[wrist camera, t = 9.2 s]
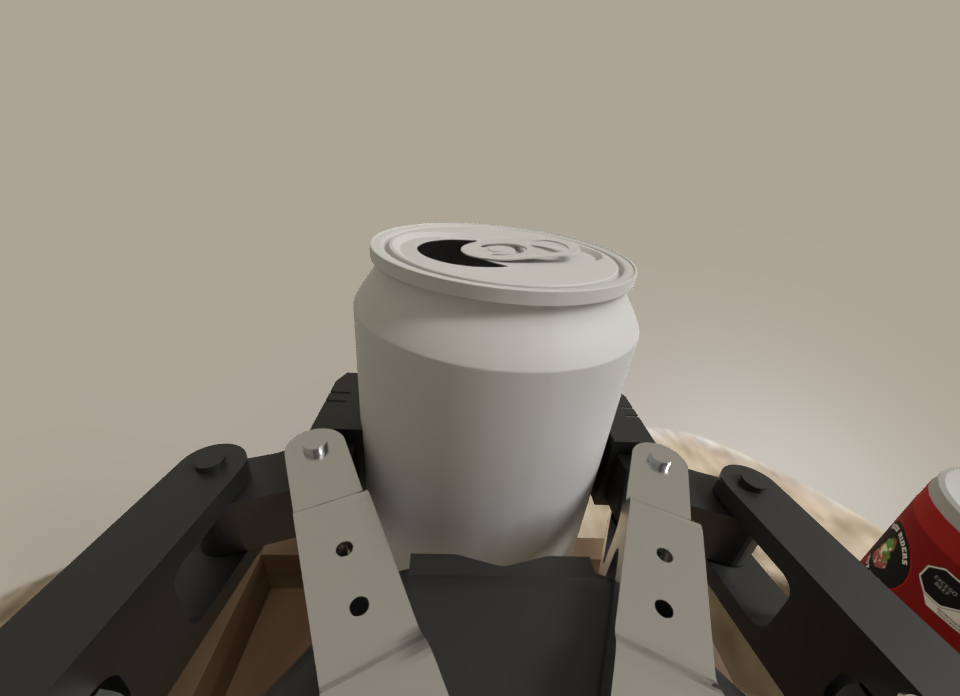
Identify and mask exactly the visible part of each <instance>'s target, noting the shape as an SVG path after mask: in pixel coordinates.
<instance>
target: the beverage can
mask: <svg viewBox="0 0 960 696" xmlns="http://www.w3.org/2000/svg"><path fill="white" fill-rule="evenodd" d="M370 257H371V260H372V262H373V263H374V265H375V266H374V268H373V269H372V271H371V272H370V274H369V275H368V276H367V278H366V279H365V281H364V282H363V283H362V285H361V287H360V288H359V290H358V292H357V293H356V295H355V299H354V322H355V338H356V355H357V371H358V387H359V403H360V418H361V425H362V429H363V443H364V460H365V477H366V489H367V490H368V491H369V493H370V496H371V498H372V501H373V504H374V507H375V509H376V512H377V515H378V518H379V520H380V523H381V526H382V528H383V531H384V534H385V537H386V539H387V542H388V545H389V548H390V550H391V553H392V556H393V558H394V561H395V564H396V567H397V569H398V571H401V570H405V569H409V564H410V556H411V553H418V554H457V555H461V556H465V557H468V558H472V559H476V560H479V561H483V562H487V563H490V564H494V565H498V566H509V565H513V564H517V563H521V562H525V561H529V560H533V559H537V558H541V557H545V556H571V555H572V552H573V549H574V546H575V542H576V539H577V536H578V533H579V529H580V526H581V523H582V520H583V517H584V513H585V510H586V507H587V504H588V500H589V497H590V494H591V491H592V487H593V484H594V481H595V478H596V474H597V471H598V468H599V465H600V462H601V458H602V455H603V452H604V449H605V445H606V442H607V439H608V436H609V432H610V429H611V426H612V423H613V420H614V416H615V413H616V410H617V407H618V403H619V400H620V397H621V394H622V390H623V387H624V384H625V381H626V377H627V374H628V371H629V368H630V364H631V361H632V358H633V355H634V352H635V348H636V345H637V342H638V338H639V326H638V322H637V319H636V316H635V313H634V311H633V308H632V306H631V304H630V301H629V299H628V296H627V293H628V292H629V291H630V290H631V289H632V288H633V286H634V283H635V279H636V276H637V268H636V266H635V265H634V264H633V263H632V262H631V261H630V260H629V259H627V258H626V257H624V256H623V255H621V254H619V253H616V252H615V251H613V250H610V249H608V248H605V247H602V246H599V245H597V244H593V243H590V242H587V241H583V240H580V239H576V238H572V237H567V236H563V235H558V234H554V233H548V232H543V231H537V230H531V229H524V228H516V227H508V226H499V225H486V224H471V223H430V224H416V225H407V226H401V227H396V228H392V229H389V230H386V231H383V232H380V233H378V234H376V235H375V236H374V237H373V238H372V239H371V240H370Z"/></svg>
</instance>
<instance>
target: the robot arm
mask: <svg viewBox="0 0 960 696" xmlns="http://www.w3.org/2000/svg"><path fill="white" fill-rule="evenodd" d="M637 416H638V415H637V414H636V412H635V411H634V409H632V406H631V405H630V403H629V402H628V400H627V399H626V397H625V396H624V395H622V394H621V397H620V400H619V403H618V407H617V410H616V413H615V416H614V420H613V423H612V426H611V429H610V432H609V436H608V439H607V442H606V445H605V449H604V452H603V455H602V458H601V462H600V465H599V468H598V471H597V474H596V478H595V481H594V484H593V487H592V491H591V496H592V499H593V502H594V504H595V505H609V506H610V509H611V513H610V516H609V519H608V522H607V528H606V534H605V539H604V545H603V551H602V556H601V562H600V567H599V573H595V571H594V568H593V565H592V562H591V559H590V557H576V556H545V557H541V558H537V559H533V560H529V561H525V562H521V563H517V564H513V565H509V566H498V565H494V564H490V563H487V562H483V561H479V560H476V559H472V558H468V557H465V556H461V555H457V554H418V553H411V556H410V564H409V569H405V570H401V571H398V569H397V567H396V564H395V561H394V558H393V556H392V553H391V550H390V548H389V545H388V542H387V539H386V537H385V534H384V531H383V528H382V526H381V523H380V520H379V518H378V515H377V512H376V509H375V507H374V504H373V501H372V498H371V496H370V493H369V491H368V490H367V489H366V477H365V460H364V443H363V429H362V425H361V418H360V403H359V387H358V373H346V374H345V375H344V376H343V377H341V378H340V379H338V380H337V381H336V382H335V384H334V386H333V388H332V390H331V393H330V394H329V396H328V397H327V399H326V402H325V403H324V405H323V407H322V409H321V411H320V412H319V414H318V416H317V418H316V420H315V422H314V424H313V425H312V428H311V429H310V430H309V431H306V432H303V433H301V434H299V435H297V436H296V437H294V438H293V439H292V440H291V441H290V442H289V443H288V444H287V446H286V448H285V451H282V452H279V453H275V454H271V455H264V456H259V457H253V458H247V455H246V452H245V450H244V449H243V448H241V447H240V446H237V445H234V444H217V445H212V446H208V447H205V448H202V449H200V450H197V451H195V452H194V453H192V454H190V455H188V456H187V457H186V458H184V459H183V460H182V461H181V462H180V463H179V464H178V465H176V466H175V467H174V468H173V469H172V470H171V471H170V472H169V473H168V474H167V475H166V476H165V477H163V478H162V479H161V480H160V481H159V482H158V483H157V484H156V485H155V486H154V487H153V488H151V489H150V490H149V491H148V492H147V493H146V494H145V495H144V496H143V497H142V498H141V499H140V500H139V501H138V502H137V503H135V504H134V505H133V506H132V507H131V508H130V509H129V510H128V511H127V512H125V513H124V514H123V515H122V516H121V517H120V518H119V519H118V520H117V521H116V522H115V523H114V524H112V525H111V526H110V527H109V528H108V529H107V530H106V531H105V532H104V533H103V534H102V535H101V536H100V537H98V538H97V539H96V540H95V541H94V542H93V543H92V544H91V545H90V546H89V547H88V548H86V550H85V551H83V552H82V553H81V554H80V555H79V556H78V557H77V558H76V559H75V560H73V561H72V562H71V563H70V564H69V565H68V566H67V567H66V568H65V569H64V570H63V571H62V572H60V573H59V574H58V575H57V576H56V577H55V578H54V579H53V580H52V581H51V582H50V583H49V584H47V585H46V586H45V587H44V588H43V589H42V590H41V591H40V592H39V593H38V594H37V595H36V596H34V597H33V598H32V599H31V600H30V601H29V602H28V603H27V604H26V605H25V606H24V607H23V608H21V609H20V610H19V611H18V612H17V613H16V614H15V615H14V616H13V617H12V618H11V619H10V620H8V621H7V622H6V623H5V624H4V625H3V626H2V627H1V628H0V696H167V695H168V694H169V692H170V691H171V689H172V687H173V686H174V684H175V683H176V681H177V680H178V678H179V677H180V675H181V673H182V672H183V670H184V669H185V667H186V666H187V664H188V663H189V661H190V659H191V658H192V656H193V655H194V653H195V652H196V650H197V649H198V647H199V645H200V644H201V642H202V641H203V639H204V638H205V636H206V635H207V633H208V631H209V630H210V628H211V627H212V625H213V624H214V622H215V621H216V619H217V617H218V616H219V614H220V613H221V611H222V610H223V608H224V607H225V605H226V603H227V602H228V600H229V599H230V597H231V596H232V594H233V592H234V591H235V589H236V588H237V586H238V585H239V583H240V582H241V580H242V578H243V577H244V575H245V574H246V572H247V571H248V569H249V568H250V566H251V564H252V563H253V561H254V560H255V558H256V557H257V555H258V554H259V552H260V550H261V549H262V547H263V546H264V545H268V544H272V543H276V542H280V541H284V540H287V539H291V538H295V537H296V538H297V545H298V552H299V558H300V565H301V572H302V578H303V585H304V592H305V598H306V605H307V611H308V618H309V625H310V631H311V638H312V643H311V644H310V645H309V647H308V648H307V649H306V650H305V651H304V652H303V653H302V654H301V655H300V656H299V657H298V658H297V659H296V660H295V661H294V662H293V663H292V664H291V665H290V666H289V667H288V669H287V670H286V671H285V672H284V673H283V674H282V675H281V676H280V677H279V678H278V679H277V680H276V681H275V682H274V683H273V684H272V685H271V686H270V687H269V688H268V689H267V690H266V692H265V693H264V694H263V695H262V696H746V695H744V694H743V693H742V692H741V691H740V690H739V689H738V688H737V687H736V686H735V685H734V684H733V683H732V682H731V681H730V680H728V679H727V678H726V677H725V676H724V675H723V674H722V673H721V672H720V671H719V670H718V669H717V668H716V667H715V664H714V653H713V641H712V630H711V619H710V607H709V596H708V584H709V586H710V587H711V589H712V590H713V592H714V593H715V595H716V596H717V598H718V599H719V601H720V602H721V603H722V605H723V606H724V608H725V609H726V611H727V612H728V614H729V615H730V617H731V618H732V620H733V621H734V623H735V624H736V626H737V627H738V628H739V630H740V631H741V633H742V634H743V636H744V637H745V639H746V640H747V642H748V643H749V645H750V646H751V648H752V649H753V650H754V652H755V653H756V655H757V656H758V658H759V659H760V661H761V662H762V664H763V665H764V667H765V668H766V670H767V671H768V672H769V674H770V675H771V677H772V678H773V680H774V681H775V683H776V684H777V686H778V687H779V689H780V690H781V692H782V693H783V694H784V696H960V654H959V653H958V652H957V651H956V650H955V649H954V648H952V647H951V646H950V645H949V644H948V643H947V642H946V641H945V640H944V639H943V638H942V637H941V636H940V635H938V634H937V633H936V632H935V631H934V630H933V629H932V628H931V627H930V626H929V625H928V624H927V623H926V622H924V621H923V620H922V619H921V618H920V617H919V616H918V615H917V614H916V613H915V612H914V611H913V610H912V609H910V608H909V607H908V606H907V605H906V604H905V603H904V602H903V601H902V600H901V599H900V598H899V597H898V596H896V595H895V594H894V593H893V592H892V591H891V590H890V589H889V588H888V587H887V586H886V585H885V584H884V583H882V582H881V581H880V580H879V579H878V578H877V577H876V576H875V575H874V574H873V573H872V572H871V571H870V570H868V569H867V568H866V567H865V566H864V565H863V564H862V563H861V562H860V561H859V560H858V559H857V558H855V557H854V556H853V555H852V554H851V553H850V552H849V551H848V550H847V549H846V548H845V547H844V546H843V545H841V544H840V543H839V542H838V541H837V540H836V539H835V538H834V537H833V536H832V535H831V534H830V533H829V532H827V531H826V530H825V529H824V528H823V527H822V526H821V525H820V524H819V523H818V522H817V521H816V520H815V519H813V518H812V517H811V516H810V515H809V514H808V513H807V512H806V511H805V510H804V509H803V508H802V507H801V506H799V505H798V504H797V503H796V502H795V501H794V500H793V499H792V498H791V497H790V496H789V495H788V494H787V493H785V492H784V491H783V490H782V489H781V488H780V487H779V486H778V485H777V484H776V483H775V482H773V481H772V480H771V479H770V478H768V477H767V476H765V475H764V474H762V473H760V472H758V471H756V470H754V469H751V468H748V467H745V466H741V465H728V466H725V467H724V468H723V469H722V471H721V473H720V475H719V477H715V476H712V475H708V474H704V473H700V472H697V471H693V470H690V469H688V466H687V464H686V462H685V461H684V460H683V459H682V457H681V456H679V455H678V454H677V453H676V452H674V451H673V450H671V449H669V448H667V447H665V446H663V445H660V444H656V443H655V441H654V440H653V438H652V437H651V435H650V434H649V432H648V431H647V429H646V428H645V426H644V425H643V423H642V421H641V420H640V418H638V417H637ZM757 545H759V546H760V547H761V548H762V550H763V551H764V552H765V553H766V554H767V555H768V557H769V558H770V559H771V560H772V561H773V562H774V563H775V565H776V566H777V567H778V568H779V569H780V570H781V571H782V573H783V574H784V576H785V577H786V579H787V581H788V583H789V587H790V596H789V599H788V598H787V597H786V596H785V594H784V593H783V592H782V591H781V590H780V588H779V587H778V586H777V585H776V584H775V582H774V581H773V580H772V579H771V578H770V576H769V575H768V574H767V573H766V572H765V570H764V569H763V568H762V567H761V566H760V564H759V563H758V562H757V561H756V560H755V558H754V557H753V556H752V555H751V554H752V553H753V551H754V550H755V548H756V547H757ZM707 583H708V584H707Z"/></svg>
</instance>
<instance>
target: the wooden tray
mask: <svg viewBox="0 0 960 696" xmlns="http://www.w3.org/2000/svg"><path fill="white" fill-rule="evenodd" d="M603 545H604V539H600V538H577V539H576V542H575V546H574V549H573V552H572V555H571V556H576V557H590V559H591V562H592V565H593V568H594V571H595V573H599V567H600V562H601V556H602V551H603ZM311 643H312V638H311V631H310V625H309V618H308V611H307V605H306V598H305V592H304V585H303V578H302V572H301V565H300V558H299V552H298V545H297V538H296V537H295V538H291V539H287V540H284V541H280V542H276V543H272V544H268V545H264V546H263V547H262V549H261V550H260V552H259V554H258V555H257V557H256V558H255V560H254V561H253V563H252V564H251V566H250V568H249V569H248V571H247V572H246V574H245V575H244V577H243V578H242V580H241V582H240V583H239V585H238V586H237V588H236V589H235V591H234V592H233V594H232V596H231V597H230V599H229V600H228V602H227V603H226V605H225V607H224V608H223V610H222V611H221V613H220V614H219V616H218V617H217V619H216V621H215V622H214V624H213V625H212V627H211V628H210V630H209V631H208V633H207V635H206V636H205V638H204V639H203V641H202V642H201V644H200V645H199V647H198V649H197V650H196V652H195V653H194V655H193V656H192V658H191V659H190V661H189V663H188V664H187V666H186V667H185V669H184V670H183V672H182V673H181V675H180V677H179V678H178V680H177V681H176V683H175V684H174V686H173V687H172V689H171V691H170V692H169V694H168V695H167V696H262V695H263V694H264V693H265V692H266V690H267V689H268V688H269V687H270V686H271V685H272V684H273V683H274V682H275V681H276V680H277V679H278V678H279V677H280V676H281V675H282V674H283V673H284V672H285V671H286V670H287V669H288V667H289V666H290V665H291V664H292V663H293V662H294V661H295V660H296V659H297V658H298V657H299V656H300V655H301V654H302V653H303V652H304V651H305V650H306V649H307V648H308V647H309V645H310V644H311ZM713 653H714V664H715V667H716V668H717V669H718V670H719V671H720V672H721V673H722V674H723V675H724V676H725V677H726V678H727V679H728V680H730V681H731V682H732V683H733V681H732V679H731V677H730V675H729V673H728V671H727V669H726V667H725V665H724V663H723V661H722V659H721V657H720V655H719V653H718V651H717V649H716V647H715V645H714V643H713ZM733 684H734V683H733Z"/></svg>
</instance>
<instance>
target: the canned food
mask: <svg viewBox="0 0 960 696" xmlns="http://www.w3.org/2000/svg"><path fill="white" fill-rule="evenodd" d="M860 562H861V563H862V564H863V565H864V566H865V567H866V568H867V569H868V570H870V571H871V572H872V573H873V574H874V575H875V576H876V577H877V578H878V579H879V580H880V581H881V582H882V583H884V584H885V585H886V586H887V587H888V588H889V589H890V590H891V591H892V592H893V593H894V594H895V595H896V596H898V597H899V598H900V599H901V600H902V601H903V602H904V603H905V604H906V605H907V606H908V607H909V608H910V609H912V610H913V611H914V612H915V613H916V614H917V615H918V616H919V617H920V618H921V619H922V620H923V621H924V622H926V623H927V624H928V625H929V626H930V627H931V628H932V629H933V630H934V631H935V632H936V633H937V634H938V635H940V636H941V637H942V638H943V639H944V640H945V641H946V642H947V643H948V644H949V645H950V646H951V647H952V648H954V649H955V650H956V651H957V652H958V653H959V654H960V467H956V468H949V469H946V470H944V471H942V472H941V473H940V474H939V475H938V476H937V477H935V478H934V479H932V480H931V481H930V482H929V483H928V484H927V485H926V487H925V488H924V489H923V490H922V491H921V492H920V493H919V494H918V495H917V496H916V497H915V498H914V499H913V500H912V502H911V503H910V504H909V505H908V506H907V507H906V509H905V510H904V511H903V512H902V513H901V514H900V516H899V517H898V518H897V519H896V520H895V521H894V523H893V524H892V525H891V526H890V527H889V528H888V530H887V531H886V532H885V533H884V534H883V535H882V536H881V538H880V539H879V540H878V541H877V542H876V543H875V545H874V546H873V547H872V548H871V549H870V550H869V552H868V553H867V554H866V555H865V556H864V557H863V559H862V560H861V561H860Z"/></svg>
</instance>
